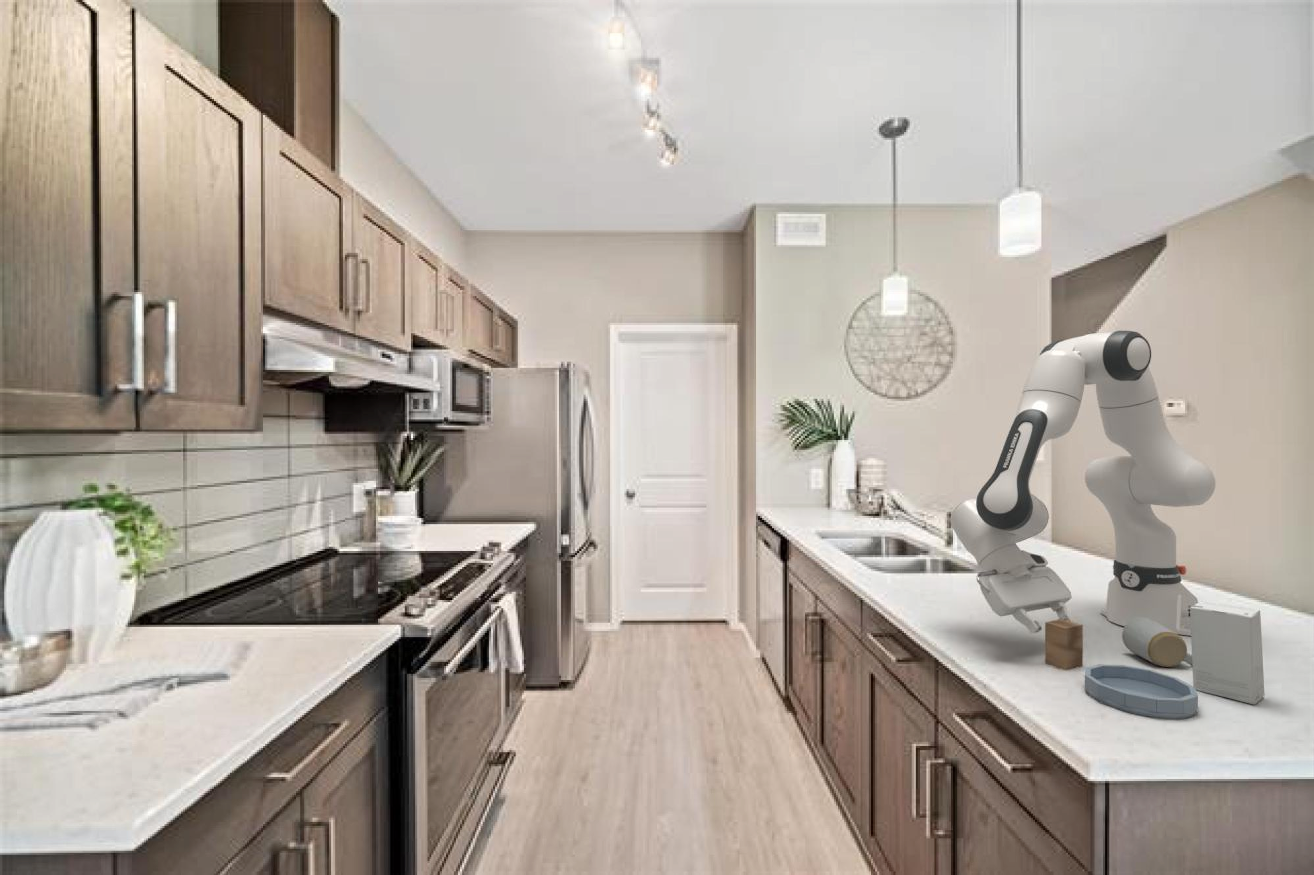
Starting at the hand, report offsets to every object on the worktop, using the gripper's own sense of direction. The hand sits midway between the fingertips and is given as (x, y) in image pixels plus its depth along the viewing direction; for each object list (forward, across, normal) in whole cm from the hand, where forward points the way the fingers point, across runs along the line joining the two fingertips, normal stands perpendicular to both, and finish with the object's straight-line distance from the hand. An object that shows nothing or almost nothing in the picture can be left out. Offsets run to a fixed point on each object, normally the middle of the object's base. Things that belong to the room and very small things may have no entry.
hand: (1053, 628), depth 121 cm
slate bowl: (+17, -4, -7) cm, 19 cm away
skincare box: (+20, +12, -11) cm, 26 cm away
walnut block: (+6, 0, +3) cm, 7 cm away
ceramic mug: (+11, +19, -1) cm, 22 cm away
